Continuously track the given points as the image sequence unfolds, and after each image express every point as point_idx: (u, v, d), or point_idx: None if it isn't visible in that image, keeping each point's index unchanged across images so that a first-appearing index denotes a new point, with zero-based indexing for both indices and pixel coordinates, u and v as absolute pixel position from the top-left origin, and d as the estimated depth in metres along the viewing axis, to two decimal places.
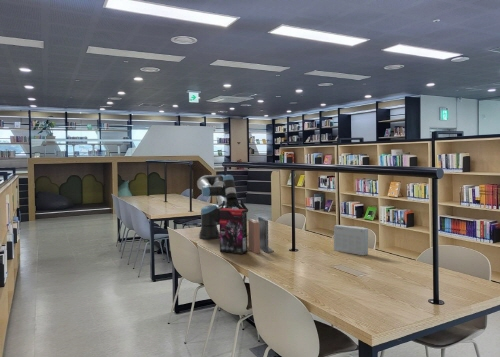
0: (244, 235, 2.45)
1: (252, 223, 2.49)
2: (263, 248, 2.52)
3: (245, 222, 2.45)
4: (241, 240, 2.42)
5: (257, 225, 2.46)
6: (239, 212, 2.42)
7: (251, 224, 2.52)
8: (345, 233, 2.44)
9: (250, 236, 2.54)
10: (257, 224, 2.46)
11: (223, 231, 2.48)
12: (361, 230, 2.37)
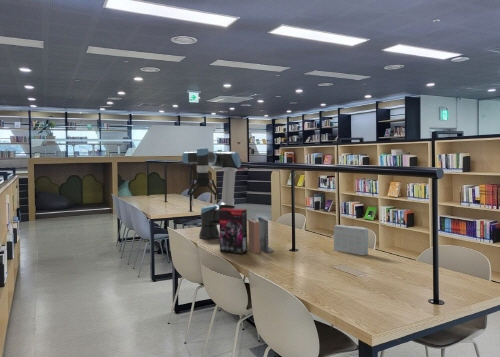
0: (244, 235, 2.45)
1: (252, 223, 2.49)
2: (263, 248, 2.52)
3: (245, 222, 2.45)
4: (241, 240, 2.42)
5: (257, 225, 2.46)
6: (239, 212, 2.42)
7: (250, 224, 2.52)
8: (345, 233, 2.44)
9: (250, 236, 2.54)
10: (257, 224, 2.46)
11: (223, 231, 2.48)
12: (361, 230, 2.37)
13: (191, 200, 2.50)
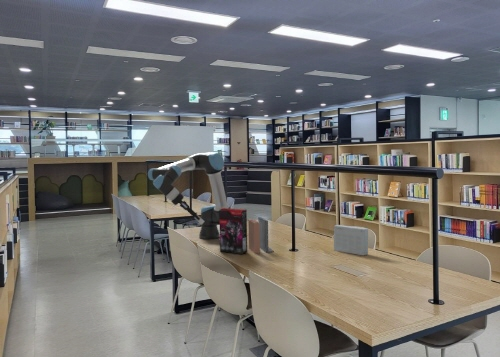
0: (244, 235, 2.45)
1: (252, 223, 2.49)
2: (263, 248, 2.52)
3: (245, 222, 2.45)
4: (241, 240, 2.42)
5: (257, 225, 2.46)
6: (239, 212, 2.42)
7: (251, 224, 2.52)
8: (345, 233, 2.44)
9: (250, 236, 2.54)
10: (257, 224, 2.46)
11: (223, 231, 2.48)
12: (361, 230, 2.37)
13: None
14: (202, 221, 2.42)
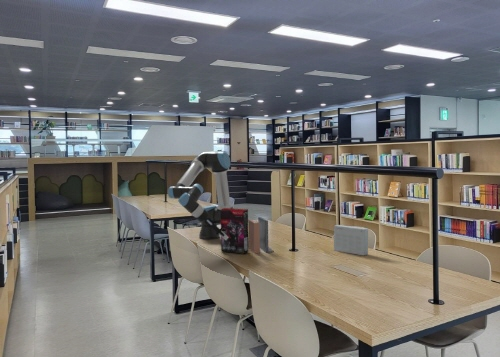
0: (246, 235, 2.45)
1: (252, 223, 2.49)
2: (263, 248, 2.52)
3: (246, 222, 2.46)
4: (242, 240, 2.43)
5: (257, 225, 2.46)
6: (240, 212, 2.43)
7: (250, 224, 2.52)
8: (345, 233, 2.44)
9: (250, 236, 2.54)
10: (257, 224, 2.46)
11: (225, 231, 2.48)
12: (361, 230, 2.37)
13: None
14: (226, 237, 2.46)
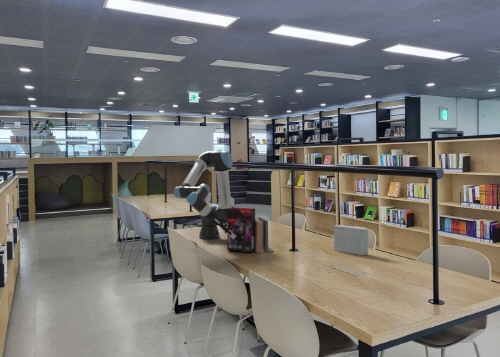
0: (253, 234, 2.48)
1: (255, 223, 2.49)
2: (263, 248, 2.52)
3: (254, 221, 2.49)
4: (250, 238, 2.45)
5: (260, 225, 2.46)
6: (248, 210, 2.46)
7: None
8: (345, 233, 2.44)
9: None
10: (260, 224, 2.46)
11: (232, 230, 2.50)
12: (361, 230, 2.37)
13: None
14: (234, 236, 2.48)
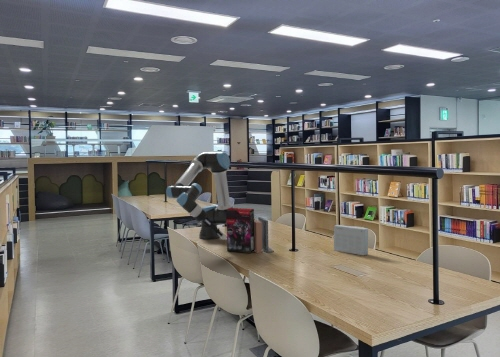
0: (252, 234, 2.47)
1: (254, 223, 2.49)
2: (263, 248, 2.52)
3: (253, 221, 2.48)
4: (249, 239, 2.45)
5: (259, 225, 2.46)
6: (247, 211, 2.44)
7: None
8: (345, 233, 2.44)
9: None
10: (259, 224, 2.46)
11: (231, 231, 2.49)
12: (361, 230, 2.37)
13: None
14: (225, 237, 2.46)
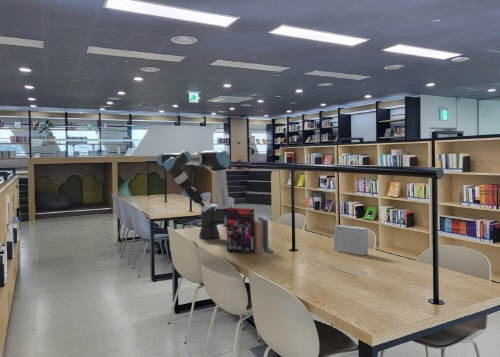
0: (252, 234, 2.47)
1: (254, 223, 2.49)
2: (263, 248, 2.52)
3: (253, 221, 2.48)
4: (249, 239, 2.45)
5: (259, 225, 2.46)
6: (247, 211, 2.44)
7: None
8: (345, 233, 2.44)
9: None
10: (259, 224, 2.46)
11: (231, 231, 2.49)
12: (361, 230, 2.37)
13: (200, 206, 2.47)
14: (206, 208, 2.46)
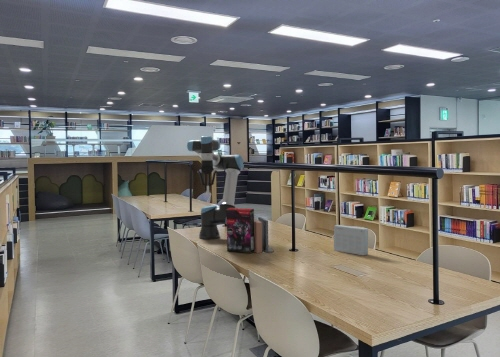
0: (252, 234, 2.47)
1: (254, 223, 2.49)
2: (263, 248, 2.52)
3: (253, 221, 2.48)
4: (249, 239, 2.45)
5: (259, 225, 2.46)
6: (247, 211, 2.44)
7: None
8: (345, 233, 2.44)
9: None
10: (259, 224, 2.46)
11: (231, 231, 2.49)
12: (361, 230, 2.37)
13: (206, 190, 2.60)
14: None
